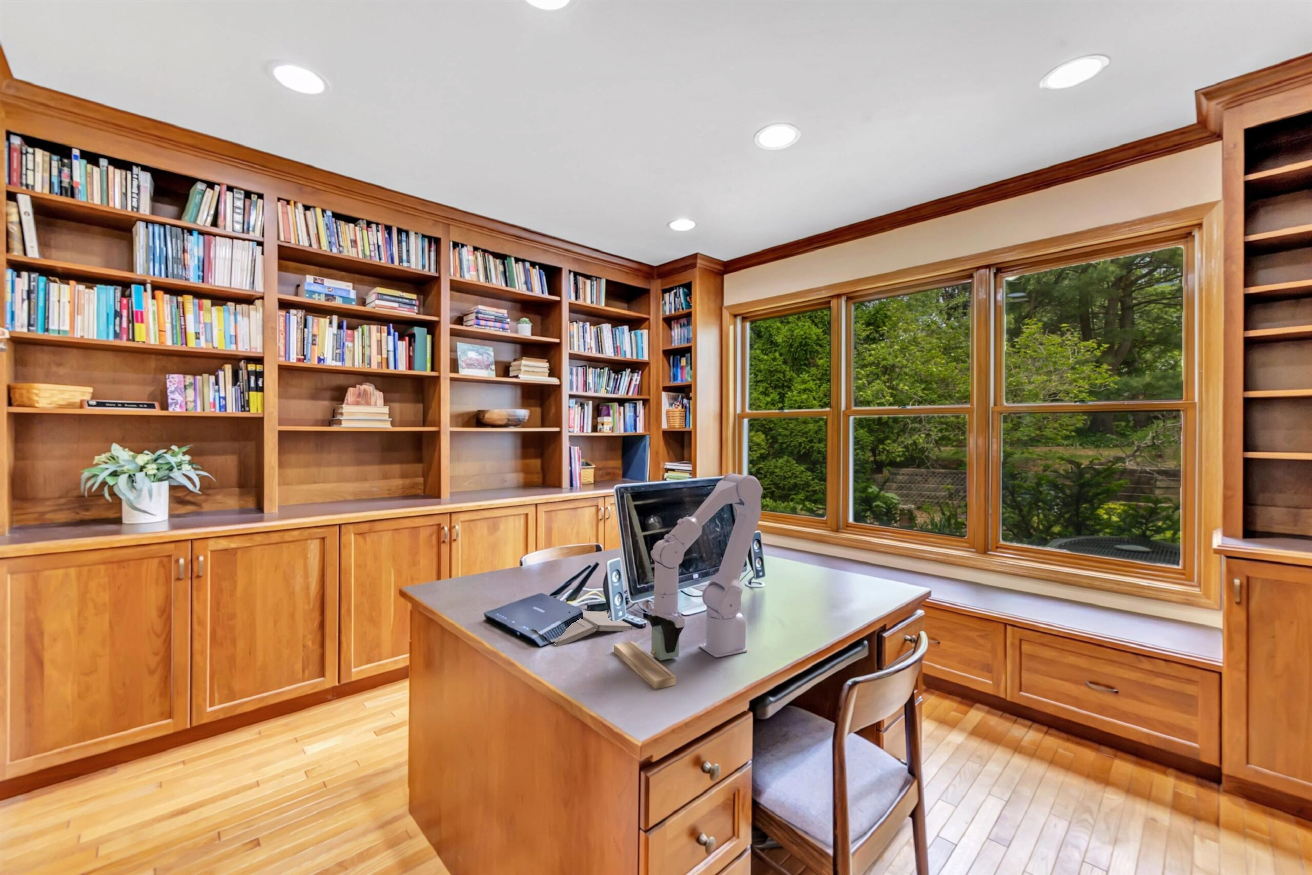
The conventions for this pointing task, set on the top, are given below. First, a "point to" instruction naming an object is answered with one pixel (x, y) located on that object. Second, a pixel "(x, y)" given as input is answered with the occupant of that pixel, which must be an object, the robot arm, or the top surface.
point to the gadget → (590, 627)
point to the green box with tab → (661, 645)
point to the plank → (645, 665)
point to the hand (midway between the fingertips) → (665, 648)
